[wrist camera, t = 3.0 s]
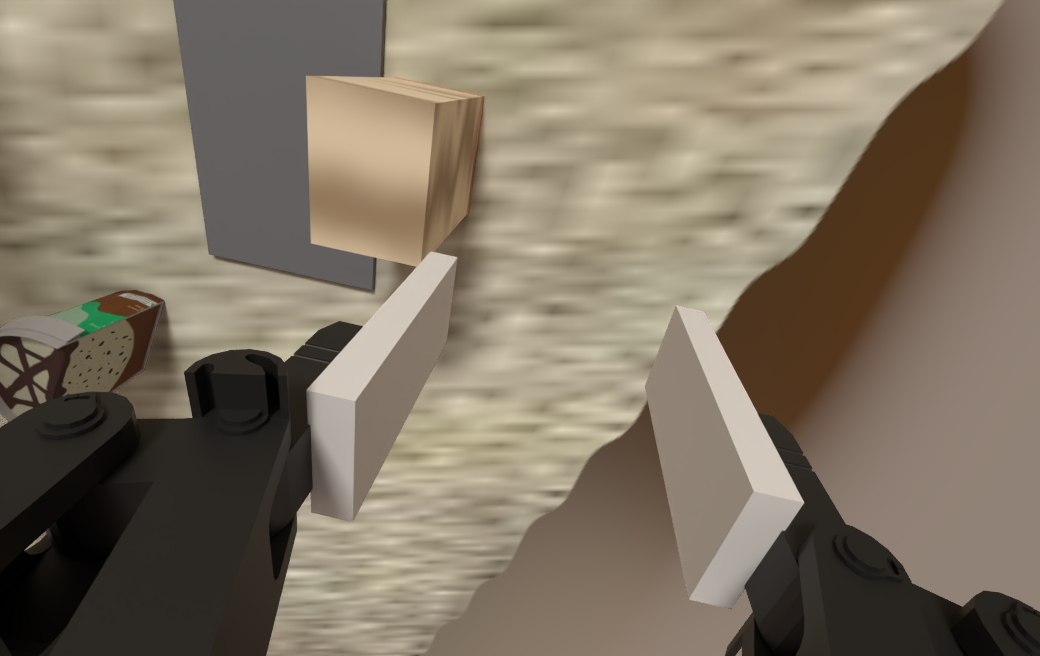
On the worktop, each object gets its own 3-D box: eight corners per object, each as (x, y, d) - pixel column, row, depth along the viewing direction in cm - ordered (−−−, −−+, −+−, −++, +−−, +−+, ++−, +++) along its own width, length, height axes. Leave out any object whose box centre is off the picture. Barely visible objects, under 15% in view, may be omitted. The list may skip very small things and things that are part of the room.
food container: (100, 249, 41) (-33, 295, 32) (168, 288, 42) (57, 343, 33) (81, 347, 46) (-37, 409, 37) (141, 379, 47) (41, 447, 39)
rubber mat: (162, -123, 28) (155, -127, 28) (389, -76, 28) (385, -79, 27) (213, 252, 40) (209, 254, 39) (374, 288, 39) (372, 290, 39)
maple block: (397, 77, 32) (305, 75, 21) (484, 96, 32) (435, 103, 21) (391, 195, 36) (310, 243, 25) (468, 212, 35) (420, 267, 25)
